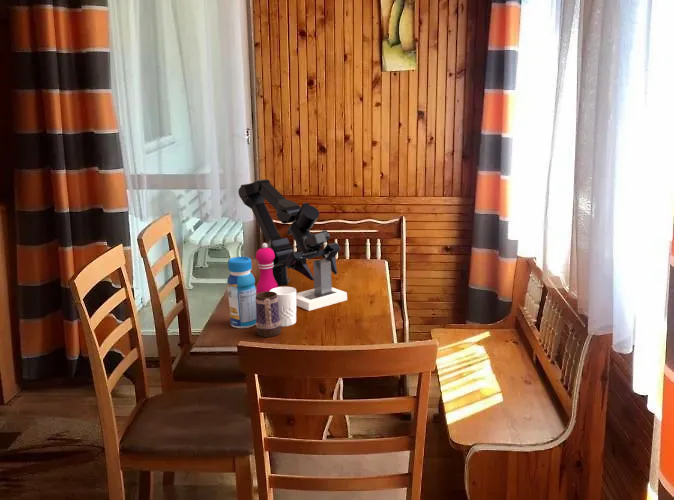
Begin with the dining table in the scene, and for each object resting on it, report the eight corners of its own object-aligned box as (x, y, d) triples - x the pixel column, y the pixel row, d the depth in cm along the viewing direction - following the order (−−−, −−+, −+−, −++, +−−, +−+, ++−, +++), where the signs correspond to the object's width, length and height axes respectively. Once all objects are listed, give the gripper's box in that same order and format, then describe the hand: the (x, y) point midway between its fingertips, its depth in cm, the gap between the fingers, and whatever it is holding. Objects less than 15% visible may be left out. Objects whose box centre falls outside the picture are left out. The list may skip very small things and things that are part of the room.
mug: (256, 329, 217) (253, 290, 214) (281, 327, 218) (278, 288, 215) (256, 342, 207) (253, 301, 204) (281, 340, 208) (279, 299, 205)
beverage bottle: (254, 329, 217) (249, 263, 212) (226, 328, 219) (220, 263, 214) (261, 319, 225) (257, 255, 220) (235, 318, 227) (230, 255, 222)
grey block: (304, 302, 239) (302, 263, 235) (324, 297, 243) (323, 258, 240) (311, 305, 236) (310, 266, 232) (332, 300, 240) (330, 261, 237)
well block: (289, 302, 240) (288, 295, 239) (326, 292, 248) (326, 285, 248) (309, 310, 231) (308, 303, 230) (347, 300, 240) (346, 292, 239)
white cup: (277, 329, 217) (275, 296, 214) (267, 321, 223) (265, 289, 221) (302, 324, 220) (300, 291, 218) (291, 316, 227) (289, 285, 224)
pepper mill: (281, 299, 243) (277, 240, 238) (277, 307, 236) (273, 245, 231) (259, 299, 244) (255, 240, 238) (255, 307, 237) (250, 246, 231)
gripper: (288, 228, 232) (310, 269, 226) (335, 218, 243) (358, 257, 237) (276, 247, 240) (297, 288, 235) (322, 237, 251) (344, 276, 245)
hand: (324, 276), depth 238 cm, fingers open, 9 cm apart
